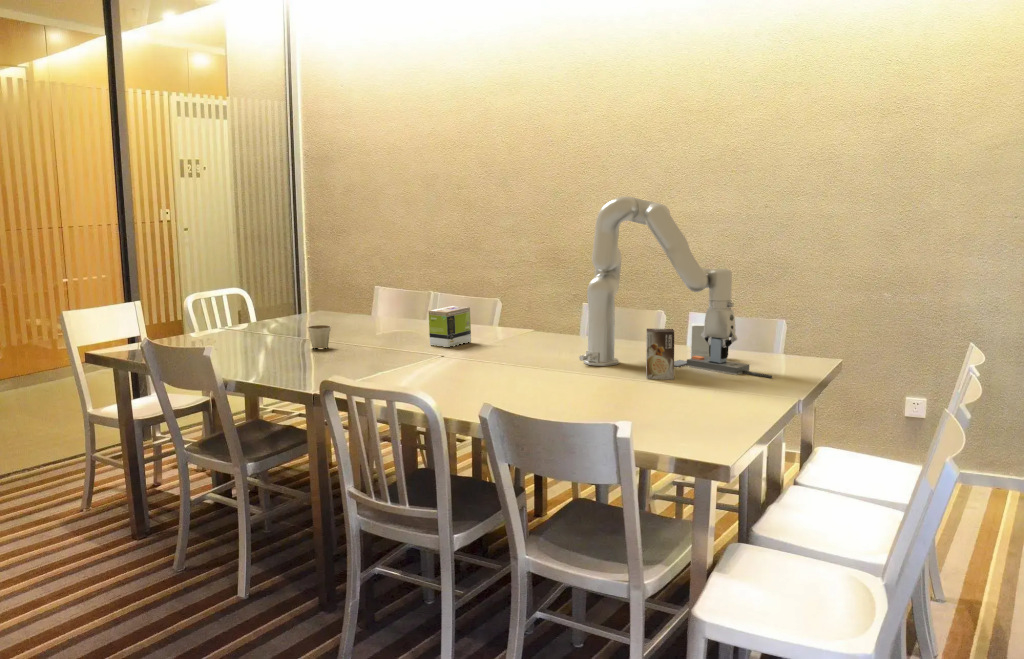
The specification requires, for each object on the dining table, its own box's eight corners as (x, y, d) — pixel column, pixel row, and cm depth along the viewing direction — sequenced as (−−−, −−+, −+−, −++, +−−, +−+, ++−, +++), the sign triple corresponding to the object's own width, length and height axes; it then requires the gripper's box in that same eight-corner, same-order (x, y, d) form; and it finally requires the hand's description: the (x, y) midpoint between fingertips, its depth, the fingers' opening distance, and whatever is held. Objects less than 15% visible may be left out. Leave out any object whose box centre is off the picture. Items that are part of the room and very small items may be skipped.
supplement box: (711, 360, 308) (712, 326, 306) (690, 359, 309) (691, 325, 307) (710, 356, 315) (711, 322, 313) (690, 355, 317) (691, 322, 314)
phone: (677, 369, 296) (678, 366, 296) (663, 366, 300) (663, 363, 300) (693, 364, 303) (693, 361, 303) (679, 362, 307) (679, 359, 307)
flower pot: (337, 347, 337) (336, 326, 335) (320, 351, 329) (319, 329, 327) (320, 345, 342) (319, 324, 340) (303, 349, 334) (302, 327, 332)
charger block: (720, 362, 290) (720, 339, 289) (710, 361, 293) (710, 338, 292) (726, 361, 293) (727, 338, 292) (716, 359, 296) (717, 336, 294)
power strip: (765, 380, 276) (766, 371, 275) (686, 366, 298) (686, 357, 297) (778, 376, 281) (778, 367, 281) (699, 362, 303) (699, 354, 303)
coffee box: (673, 375, 283) (674, 328, 281) (674, 380, 277) (675, 331, 274) (645, 375, 285) (646, 328, 282) (645, 379, 278) (646, 331, 276)
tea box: (452, 340, 351) (452, 305, 349) (471, 342, 345) (471, 306, 343) (428, 345, 339) (427, 309, 337) (448, 348, 333) (447, 311, 331)
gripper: (747, 306, 286) (745, 359, 289) (705, 301, 298) (704, 352, 301) (735, 308, 281) (733, 362, 284) (692, 304, 293) (691, 355, 296)
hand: (718, 356), depth 293 cm, fingers closed on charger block, 4 cm apart
